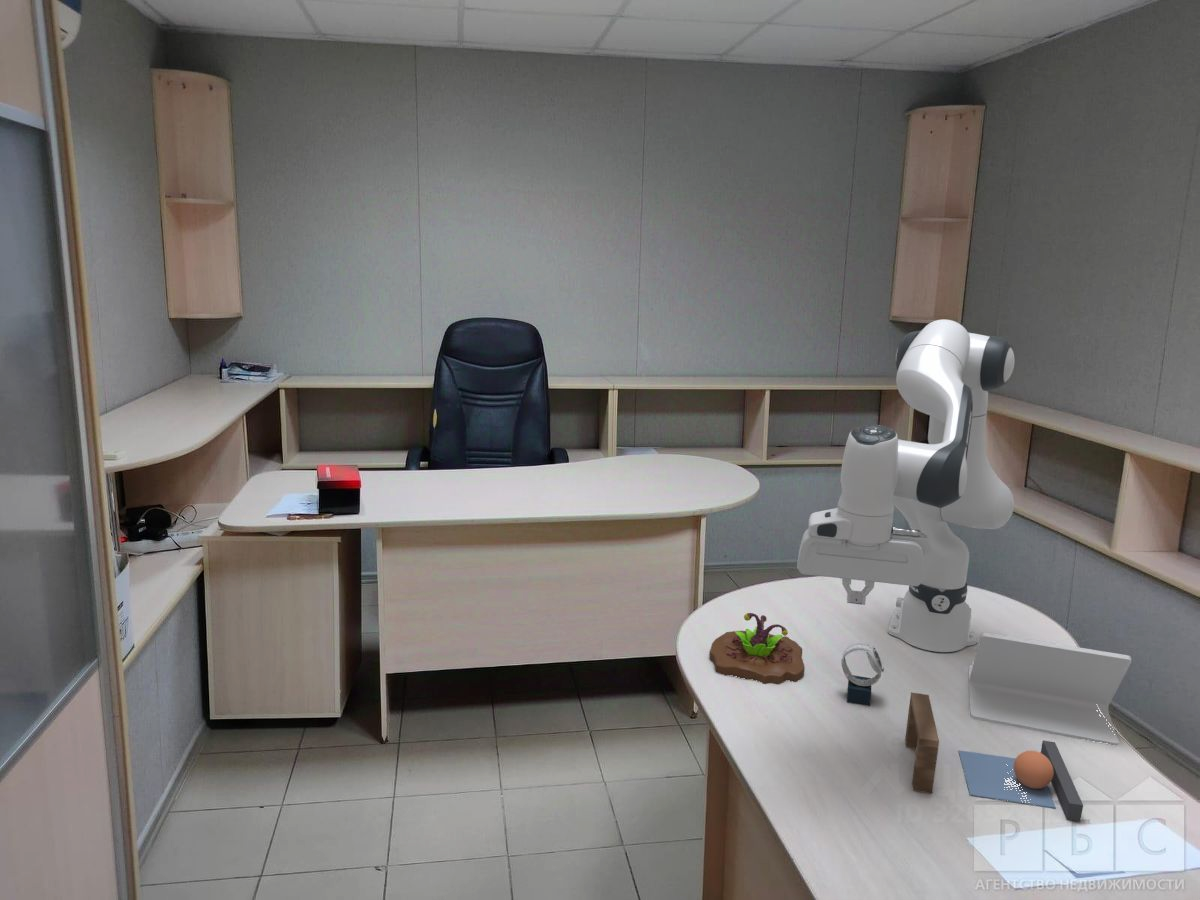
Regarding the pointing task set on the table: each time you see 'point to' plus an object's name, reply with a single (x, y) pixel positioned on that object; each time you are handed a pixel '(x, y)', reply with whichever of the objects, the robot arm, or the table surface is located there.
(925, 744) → the bridge
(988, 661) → the tablet stand
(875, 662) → the watch
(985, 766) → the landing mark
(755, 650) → the plant
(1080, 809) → the stopper
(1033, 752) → the ball
